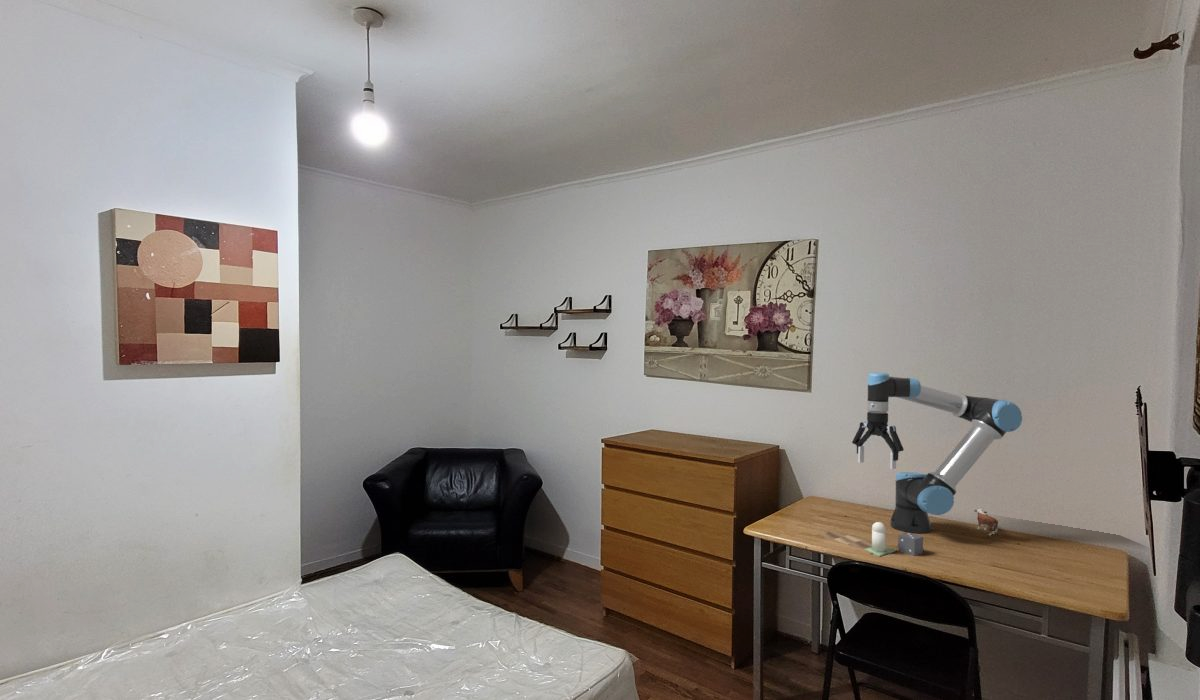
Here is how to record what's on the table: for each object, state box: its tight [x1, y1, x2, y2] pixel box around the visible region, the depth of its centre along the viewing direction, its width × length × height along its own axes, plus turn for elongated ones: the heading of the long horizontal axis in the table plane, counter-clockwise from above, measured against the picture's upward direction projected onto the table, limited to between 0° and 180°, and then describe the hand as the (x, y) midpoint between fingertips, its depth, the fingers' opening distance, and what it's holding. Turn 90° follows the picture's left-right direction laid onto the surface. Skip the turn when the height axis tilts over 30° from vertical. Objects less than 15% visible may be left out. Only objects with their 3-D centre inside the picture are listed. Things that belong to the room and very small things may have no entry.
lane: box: [818, 530, 896, 557], centre depth 228 cm, size 10×26×1 cm, turn 33°
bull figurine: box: [974, 508, 999, 536], centre depth 244 cm, size 4×13×8 cm, turn 174°
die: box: [897, 532, 924, 557], centre depth 219 cm, size 6×6×6 cm
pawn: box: [871, 521, 887, 552], centre depth 219 cm, size 5×5×10 cm
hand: (876, 465), depth 234 cm, fingers open, 13 cm apart
